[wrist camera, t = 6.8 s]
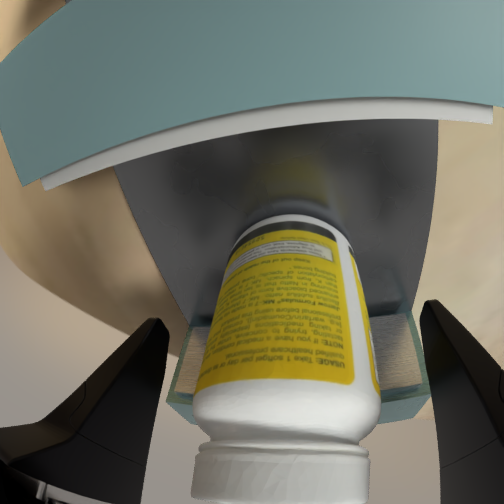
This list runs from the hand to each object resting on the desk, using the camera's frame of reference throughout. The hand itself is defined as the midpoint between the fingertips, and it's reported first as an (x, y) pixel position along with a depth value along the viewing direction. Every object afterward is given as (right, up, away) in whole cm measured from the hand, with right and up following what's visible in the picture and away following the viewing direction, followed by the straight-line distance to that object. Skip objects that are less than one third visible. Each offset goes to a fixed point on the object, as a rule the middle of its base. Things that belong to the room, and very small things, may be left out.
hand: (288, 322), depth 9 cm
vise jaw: (-2, +11, -5) cm, 12 cm away
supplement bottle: (0, +2, +2) cm, 3 cm away
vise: (-1, +7, -1) cm, 7 cm away
